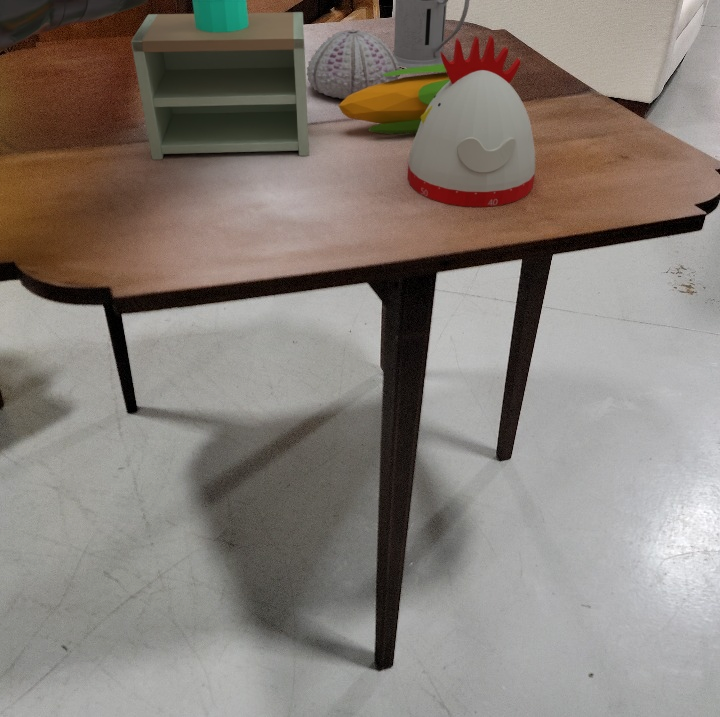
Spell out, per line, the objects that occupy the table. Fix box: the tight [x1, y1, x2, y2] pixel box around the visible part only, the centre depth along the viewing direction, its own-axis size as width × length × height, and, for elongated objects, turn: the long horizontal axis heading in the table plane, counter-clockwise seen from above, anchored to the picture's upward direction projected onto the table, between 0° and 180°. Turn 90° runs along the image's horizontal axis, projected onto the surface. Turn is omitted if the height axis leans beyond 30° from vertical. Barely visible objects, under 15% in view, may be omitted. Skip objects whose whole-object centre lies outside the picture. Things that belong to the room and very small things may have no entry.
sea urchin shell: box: [306, 29, 401, 100], centre depth 104 cm, size 13×14×8 cm
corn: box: [338, 64, 450, 135], centre depth 92 cm, size 7×8×20 cm
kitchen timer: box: [407, 35, 536, 208], centre depth 77 cm, size 14×14×15 cm
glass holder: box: [393, 0, 470, 68], centre depth 111 cm, size 9×14×15 cm, turn 39°
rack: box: [130, 11, 310, 161], centre depth 87 cm, size 18×12×13 cm, turn 94°
